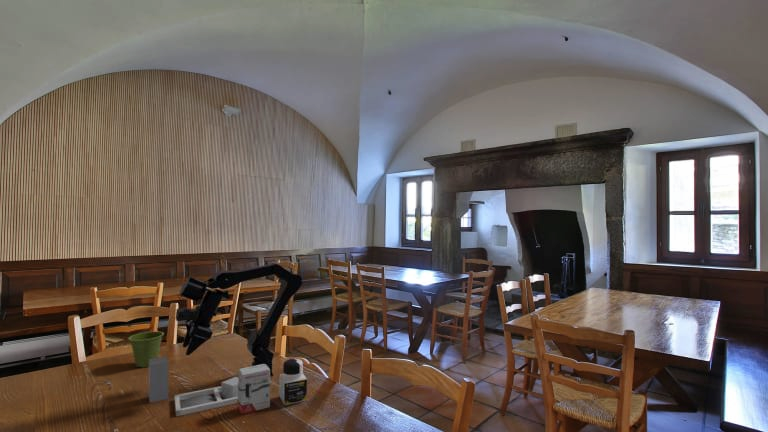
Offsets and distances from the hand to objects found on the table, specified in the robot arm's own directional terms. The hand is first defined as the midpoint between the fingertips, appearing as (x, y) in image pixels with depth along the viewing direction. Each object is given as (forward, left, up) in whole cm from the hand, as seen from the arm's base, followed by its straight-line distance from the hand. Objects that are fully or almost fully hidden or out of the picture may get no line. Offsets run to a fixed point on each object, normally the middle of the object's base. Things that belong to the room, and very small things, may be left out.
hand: (185, 350), depth 130 cm
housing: (-8, +11, -13) cm, 19 cm away
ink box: (-17, +23, -14) cm, 32 cm away
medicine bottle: (-29, +23, -14) cm, 40 cm away
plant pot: (+12, -34, -14) cm, 39 cm away
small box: (-13, +11, -14) cm, 22 cm away
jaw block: (+8, +1, -13) cm, 15 cm away
